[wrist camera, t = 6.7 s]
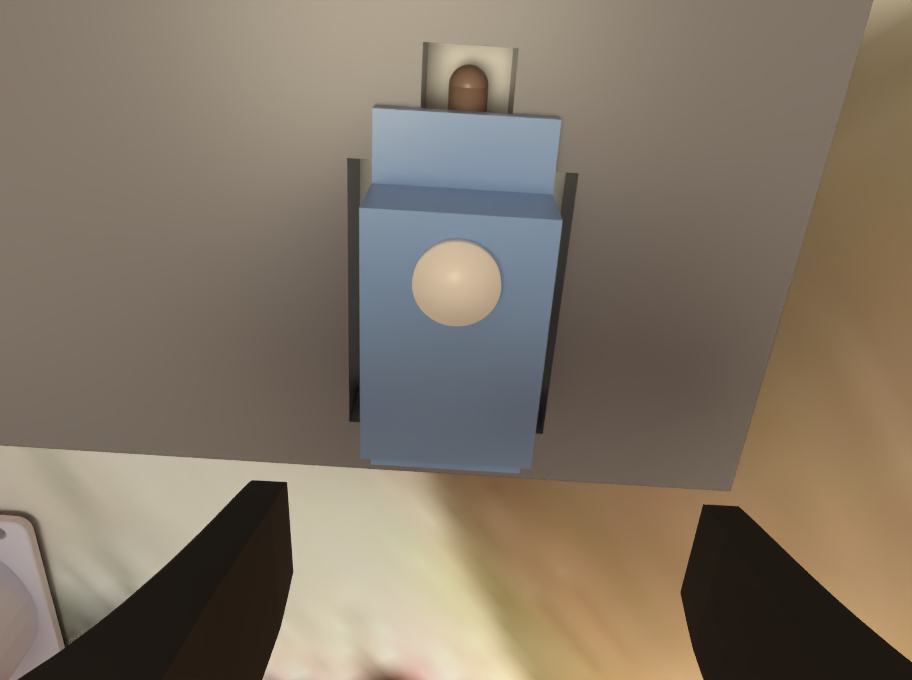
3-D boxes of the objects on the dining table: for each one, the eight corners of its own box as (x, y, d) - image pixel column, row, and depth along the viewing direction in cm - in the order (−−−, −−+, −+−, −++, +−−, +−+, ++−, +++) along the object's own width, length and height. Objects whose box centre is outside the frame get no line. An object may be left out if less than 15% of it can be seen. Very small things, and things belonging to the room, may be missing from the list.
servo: (381, 415, 21) (358, 520, 17) (385, 55, 17) (356, 76, 12) (514, 423, 21) (525, 530, 17) (554, 65, 17) (581, 91, 13)
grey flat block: (1, 386, 22) (-63, 441, 20) (-167, -262, 15) (-305, -316, 12) (699, 431, 22) (730, 491, 20) (857, -190, 15) (940, -229, 13)
